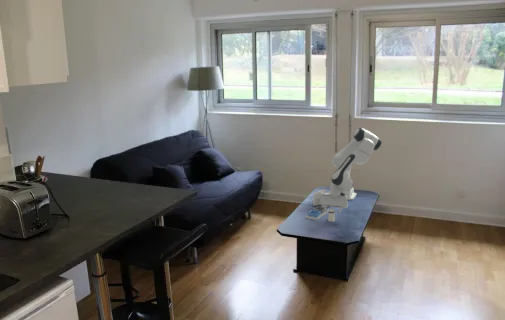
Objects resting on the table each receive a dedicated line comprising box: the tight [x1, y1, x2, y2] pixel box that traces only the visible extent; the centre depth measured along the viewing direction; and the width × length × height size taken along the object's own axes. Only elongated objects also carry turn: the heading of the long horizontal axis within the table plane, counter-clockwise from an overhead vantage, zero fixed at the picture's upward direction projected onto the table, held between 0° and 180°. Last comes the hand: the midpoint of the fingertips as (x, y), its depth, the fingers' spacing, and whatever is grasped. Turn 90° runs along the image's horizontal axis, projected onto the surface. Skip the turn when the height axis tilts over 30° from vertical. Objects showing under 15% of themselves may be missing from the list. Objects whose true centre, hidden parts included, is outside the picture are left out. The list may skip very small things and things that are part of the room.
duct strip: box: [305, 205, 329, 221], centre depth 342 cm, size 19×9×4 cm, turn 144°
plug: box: [327, 208, 336, 222], centre depth 331 cm, size 4×4×8 cm
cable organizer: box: [312, 189, 330, 209], centre depth 361 cm, size 15×11×12 cm
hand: (332, 212), depth 331 cm, fingers open, 8 cm apart
